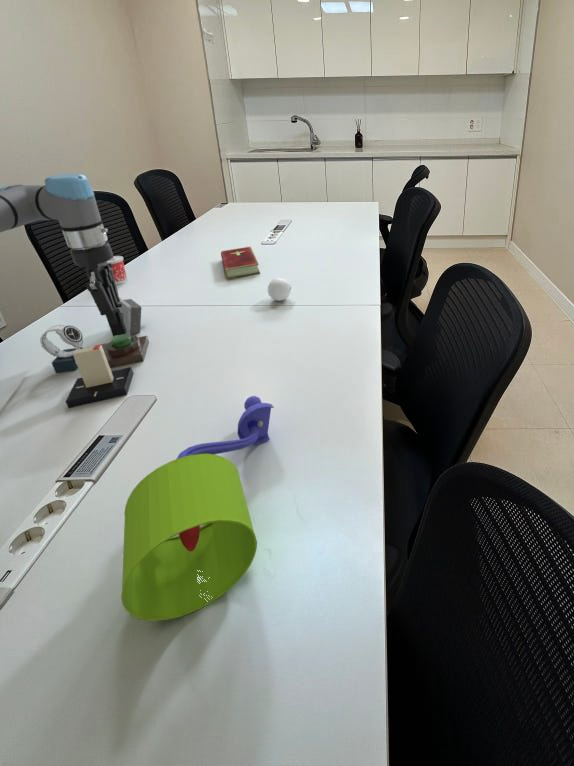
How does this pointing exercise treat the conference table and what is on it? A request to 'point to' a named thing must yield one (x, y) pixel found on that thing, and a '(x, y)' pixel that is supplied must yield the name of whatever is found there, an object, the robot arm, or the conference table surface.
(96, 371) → the cream rectangular block
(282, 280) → the white ovoid piece
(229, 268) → the hardcover book
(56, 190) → the robot arm
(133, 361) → the switch block
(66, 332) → the watch
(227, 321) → the conference table surface
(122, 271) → the beverage cup
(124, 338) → the button
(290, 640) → the conference table surface
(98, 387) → the dimmer panel
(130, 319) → the electrical switch
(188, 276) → the conference table surface
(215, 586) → the wall lamp
